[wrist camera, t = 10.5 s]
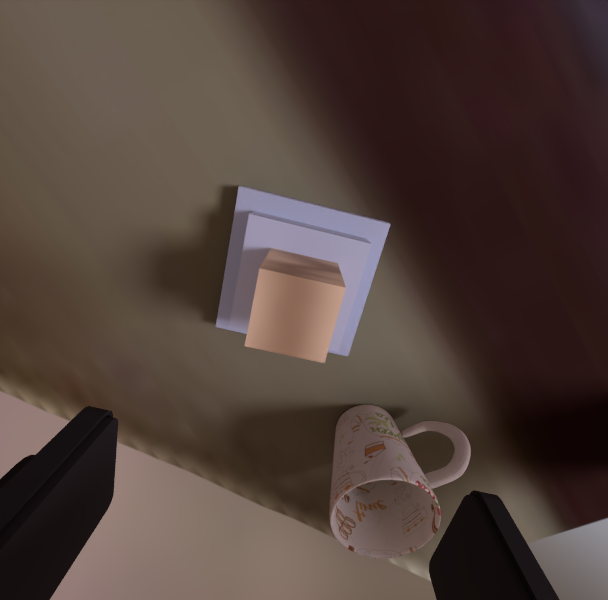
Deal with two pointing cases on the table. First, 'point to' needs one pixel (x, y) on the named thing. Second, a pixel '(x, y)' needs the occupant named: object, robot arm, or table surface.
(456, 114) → the table surface
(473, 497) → the robot arm
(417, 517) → the mug
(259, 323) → the beech block
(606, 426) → the table surface
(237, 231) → the plinth
